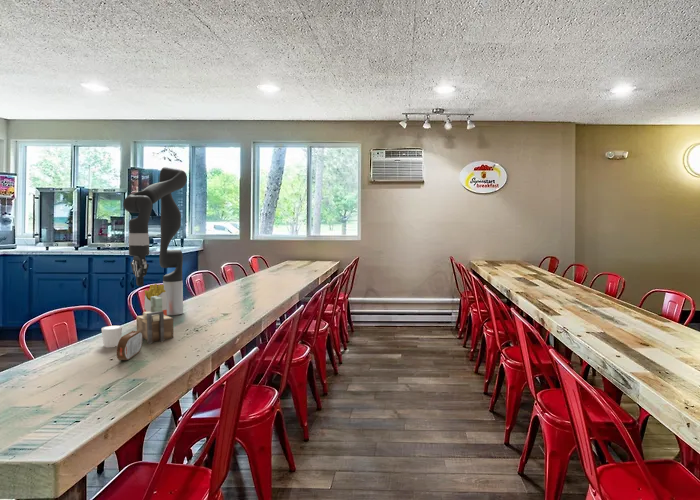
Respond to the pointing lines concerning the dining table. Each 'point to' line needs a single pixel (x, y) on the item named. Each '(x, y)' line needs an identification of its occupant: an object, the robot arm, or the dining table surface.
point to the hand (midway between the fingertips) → (140, 285)
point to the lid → (154, 308)
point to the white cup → (111, 335)
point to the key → (154, 317)
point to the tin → (129, 345)
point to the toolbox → (156, 328)
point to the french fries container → (157, 292)
